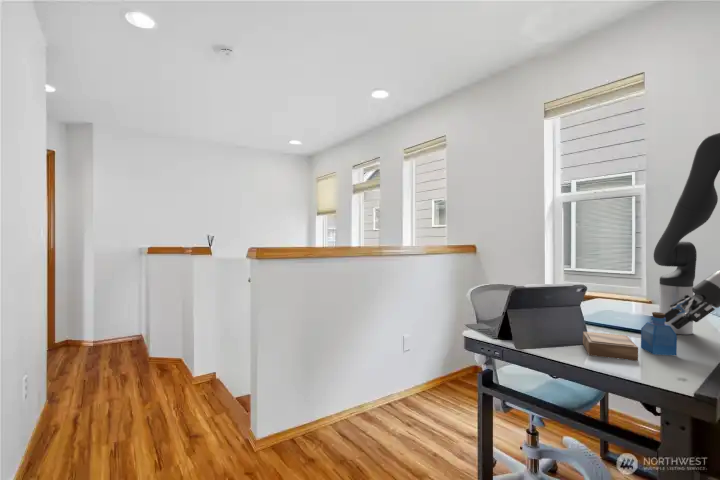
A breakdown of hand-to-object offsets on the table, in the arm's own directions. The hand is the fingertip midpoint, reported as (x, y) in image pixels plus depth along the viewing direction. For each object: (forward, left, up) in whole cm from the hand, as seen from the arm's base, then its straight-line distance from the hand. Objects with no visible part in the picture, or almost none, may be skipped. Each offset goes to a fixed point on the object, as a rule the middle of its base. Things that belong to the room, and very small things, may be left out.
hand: (668, 323), depth 107 cm
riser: (+6, -16, -9) cm, 20 cm away
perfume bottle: (0, -2, -9) cm, 10 cm away
